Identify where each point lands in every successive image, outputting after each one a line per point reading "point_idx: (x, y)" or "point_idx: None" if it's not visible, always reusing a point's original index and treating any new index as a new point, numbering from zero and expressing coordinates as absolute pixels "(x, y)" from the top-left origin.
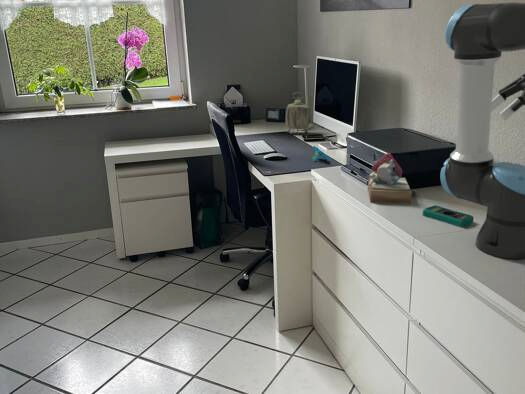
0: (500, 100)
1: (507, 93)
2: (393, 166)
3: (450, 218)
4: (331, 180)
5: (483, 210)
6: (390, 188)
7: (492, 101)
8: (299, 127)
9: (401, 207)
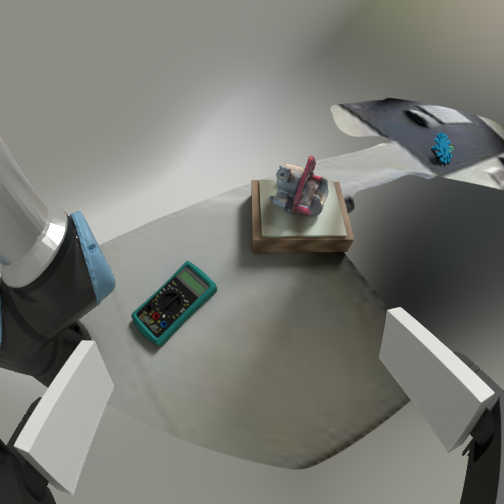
0: (445, 418)
1: (481, 472)
2: (278, 178)
3: (147, 300)
4: (353, 155)
5: (236, 387)
6: (260, 204)
7: (428, 353)
8: None
9: (230, 236)
